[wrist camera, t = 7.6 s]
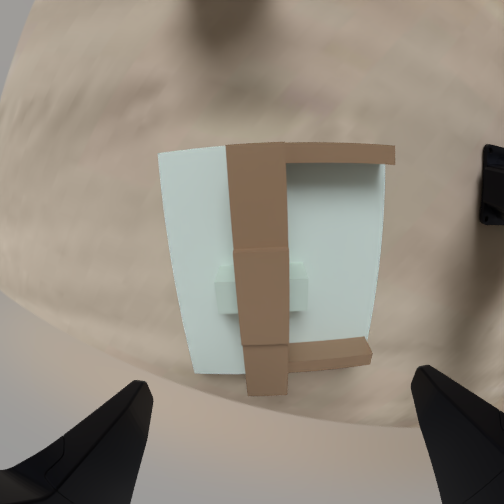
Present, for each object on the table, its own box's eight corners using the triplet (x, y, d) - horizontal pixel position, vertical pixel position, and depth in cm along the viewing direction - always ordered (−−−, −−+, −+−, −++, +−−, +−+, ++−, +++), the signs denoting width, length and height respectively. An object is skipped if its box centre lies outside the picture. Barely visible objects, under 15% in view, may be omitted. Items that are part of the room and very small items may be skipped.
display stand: (372, 144, 16) (401, 145, 12) (355, 349, 22) (369, 384, 18) (168, 152, 17) (143, 154, 13) (199, 357, 22) (189, 393, 19)
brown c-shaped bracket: (380, 145, 14) (417, 146, 10) (362, 346, 19) (380, 388, 15) (234, 146, 15) (224, 145, 11) (250, 355, 20) (247, 400, 16)
